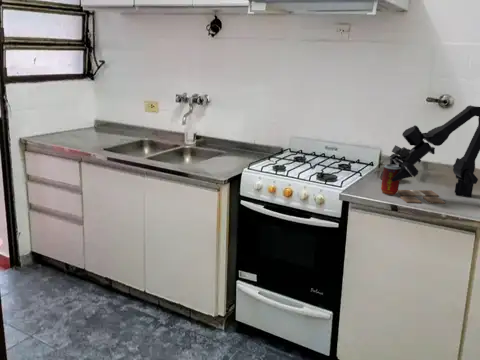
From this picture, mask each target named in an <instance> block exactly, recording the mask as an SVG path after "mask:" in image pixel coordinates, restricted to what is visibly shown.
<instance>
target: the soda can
mask: <svg viewBox="0 0 480 360" xmlns="http://www.w3.org/2000/svg"><path fill="white" fill-rule="evenodd" d="M400 169H401V167H399V166H398V165H394V164H390V163H389V164H385V165H384V166H383V169H382V171H383V177H382V180H381V186H380V188H381V189H380V190H381V192H382V194H383V195H386V196H396V195H397V193H398V192H397V191H398V190H399V187H400V182H399V180H397V181H394V182H393V181H392V178H393V177H394V176H395V175H396V174H397V173H398V172H399V171H400Z"/></svg>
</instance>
